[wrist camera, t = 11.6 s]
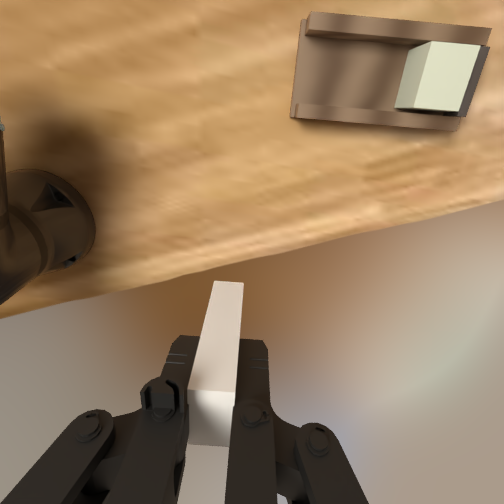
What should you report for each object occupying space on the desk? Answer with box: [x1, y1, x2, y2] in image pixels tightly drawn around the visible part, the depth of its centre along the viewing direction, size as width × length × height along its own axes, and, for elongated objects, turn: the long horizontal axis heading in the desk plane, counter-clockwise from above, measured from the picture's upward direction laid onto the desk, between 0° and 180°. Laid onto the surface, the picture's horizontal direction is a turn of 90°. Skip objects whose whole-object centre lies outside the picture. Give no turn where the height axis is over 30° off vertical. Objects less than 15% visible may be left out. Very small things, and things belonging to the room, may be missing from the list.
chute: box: [290, 11, 492, 131], centre depth 35 cm, size 20×10×4 cm, turn 86°
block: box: [394, 41, 480, 111], centre depth 33 cm, size 5×6×5 cm
